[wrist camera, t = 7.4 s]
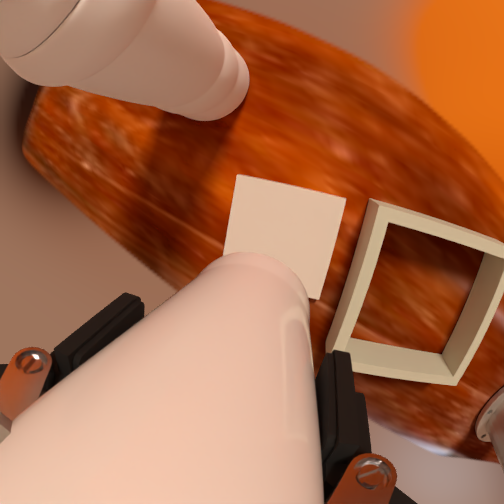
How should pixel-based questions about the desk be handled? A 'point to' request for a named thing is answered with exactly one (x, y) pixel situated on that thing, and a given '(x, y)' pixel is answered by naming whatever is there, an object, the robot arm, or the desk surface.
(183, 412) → the drinking glass
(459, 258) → the desk surface
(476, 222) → the desk surface
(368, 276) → the beige square frame
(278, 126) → the desk surface
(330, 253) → the ceramic tile
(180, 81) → the water bottle
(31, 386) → the robot arm
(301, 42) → the desk surface
